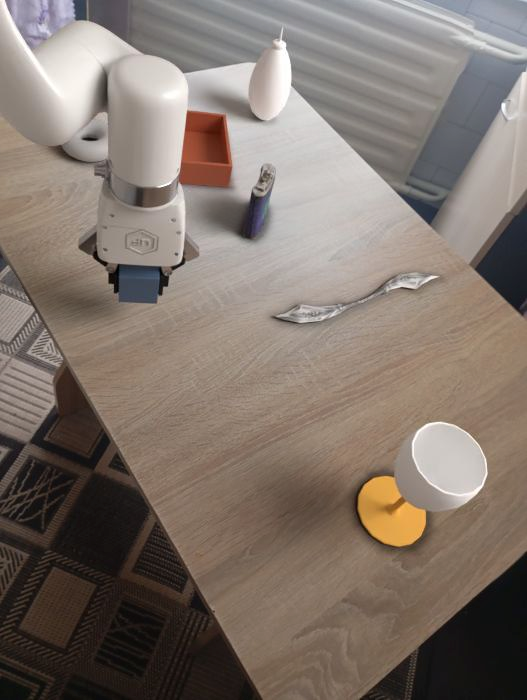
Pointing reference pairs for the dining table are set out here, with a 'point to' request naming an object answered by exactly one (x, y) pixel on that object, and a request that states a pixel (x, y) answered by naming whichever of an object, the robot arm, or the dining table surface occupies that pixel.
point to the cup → (422, 483)
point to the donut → (89, 142)
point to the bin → (206, 150)
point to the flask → (259, 202)
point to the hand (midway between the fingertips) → (138, 285)
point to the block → (138, 283)
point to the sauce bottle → (270, 81)
